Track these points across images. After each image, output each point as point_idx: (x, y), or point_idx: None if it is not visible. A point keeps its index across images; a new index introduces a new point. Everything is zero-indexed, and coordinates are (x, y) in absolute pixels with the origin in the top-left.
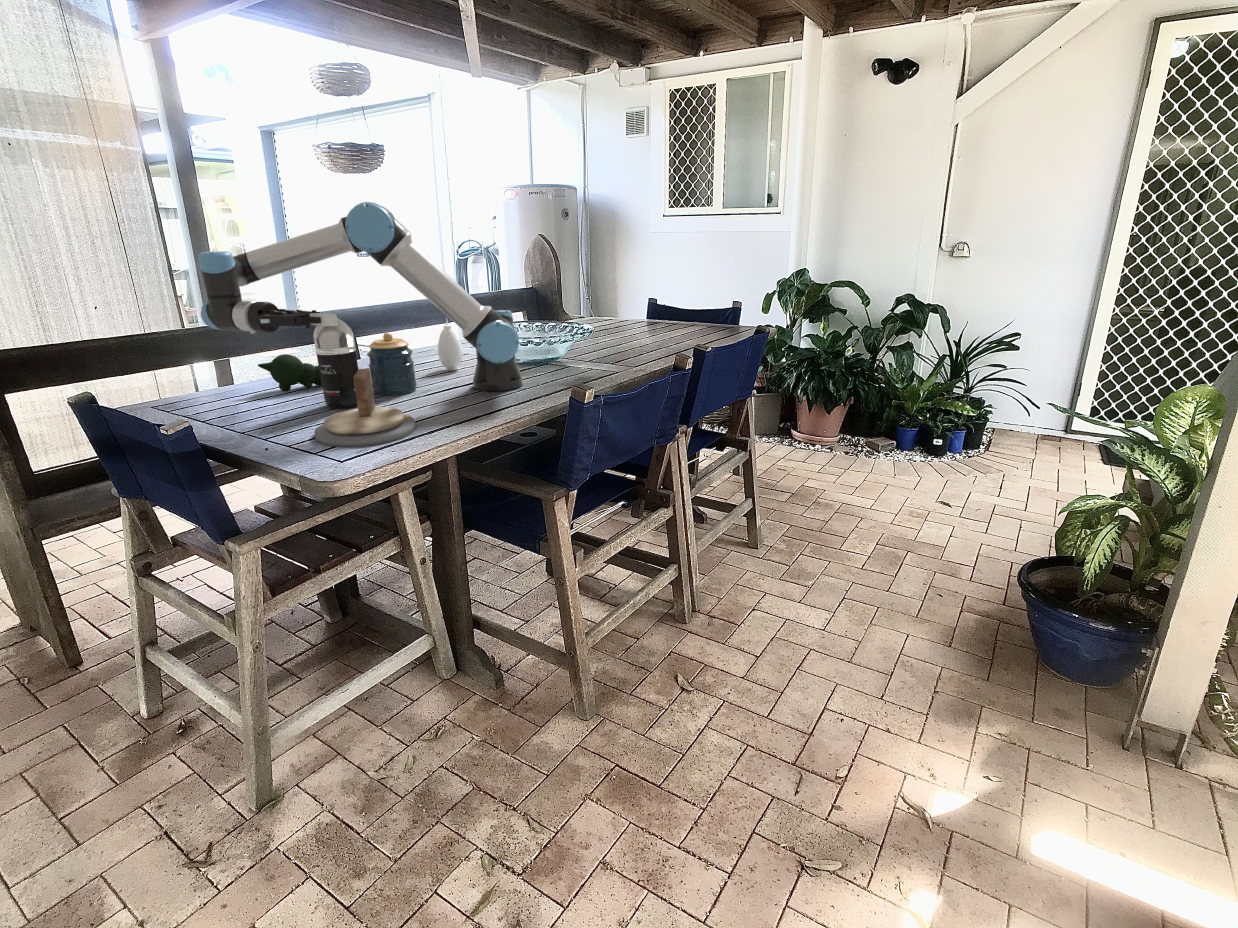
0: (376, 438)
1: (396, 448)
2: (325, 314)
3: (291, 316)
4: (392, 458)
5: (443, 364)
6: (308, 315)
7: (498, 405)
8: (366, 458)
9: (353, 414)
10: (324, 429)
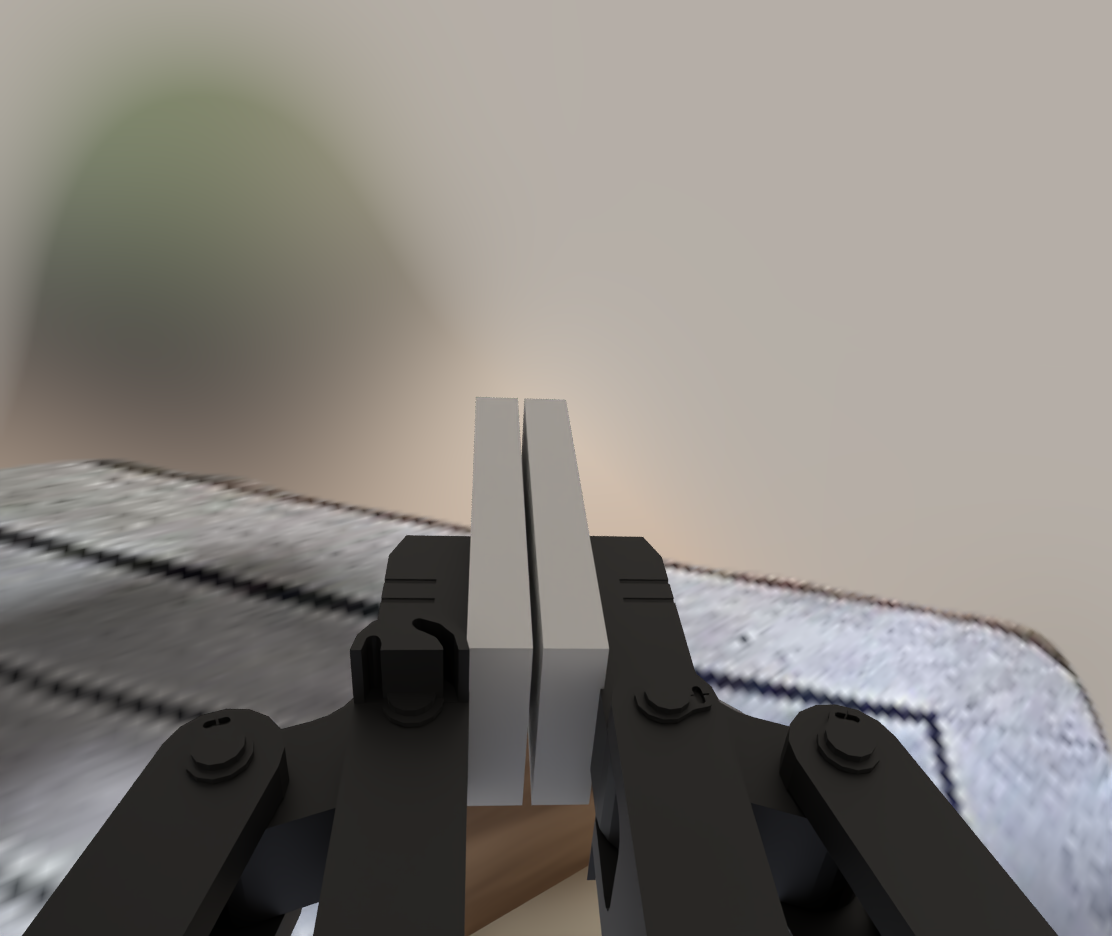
0: (723, 703)
1: (714, 645)
2: (565, 448)
3: (976, 850)
4: (793, 610)
5: None
6: (621, 685)
7: (55, 591)
8: (848, 671)
9: (594, 917)
10: None
